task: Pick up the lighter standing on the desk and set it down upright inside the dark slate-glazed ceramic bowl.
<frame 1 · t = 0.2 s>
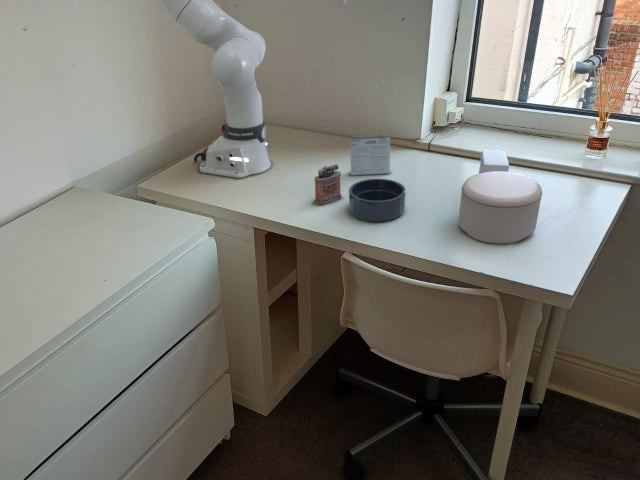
hand: (345, 1, 174), 48 cm above the table, tool pointing down, fingers open, 8 cm apart
bowl: (376, 210, 178), on the table
cosmetics box: (489, 194, 181), on the table
lighter: (328, 201, 185), on the table
ink box: (369, 174, 198), on the table
container: (495, 229, 165), on the table
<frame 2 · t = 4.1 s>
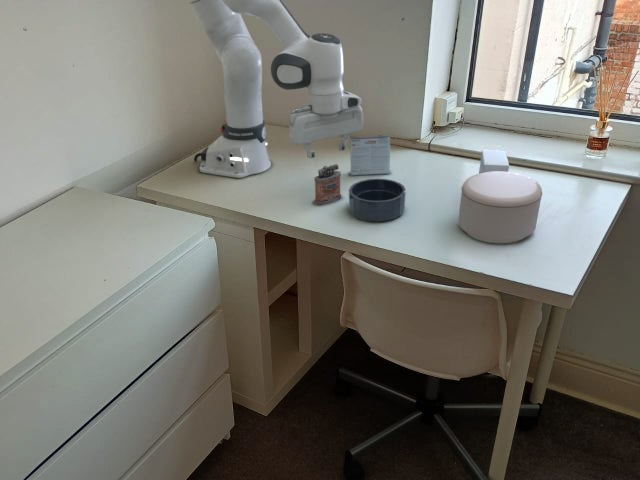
hand: (326, 153, 178), 14 cm above the table, tool pointing down, fingers open, 8 cm apart
nothing on the table moved.
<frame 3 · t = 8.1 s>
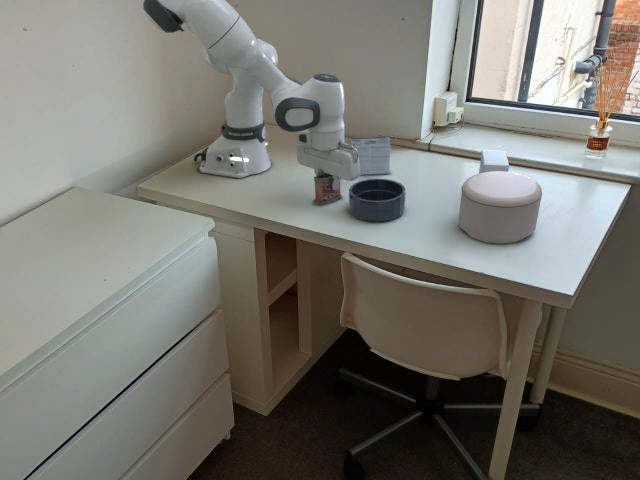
hand: (328, 186, 183), 4 cm above the table, tool pointing down, fingers closed on lighter, 3 cm apart
lighter: (328, 201, 185), on the table, touching gripper
everything else where it was.
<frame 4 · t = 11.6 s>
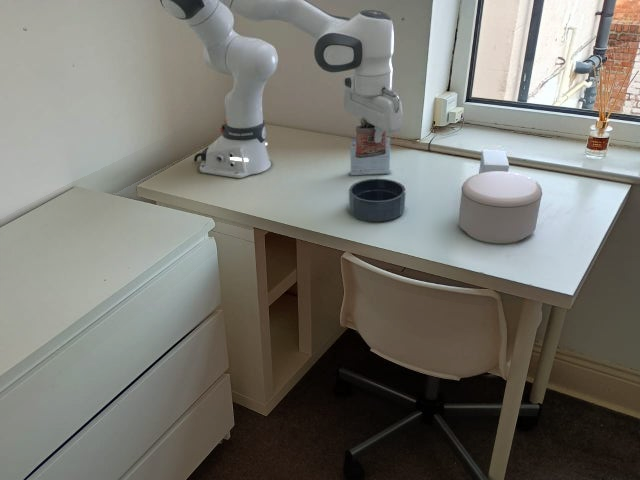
hand: (371, 139, 168), 20 cm above the table, tool pointing down, fingers closed on lighter, 3 cm apart
lighter: (370, 155, 170), point 15 cm above the table, touching gripper
everything else where it was.
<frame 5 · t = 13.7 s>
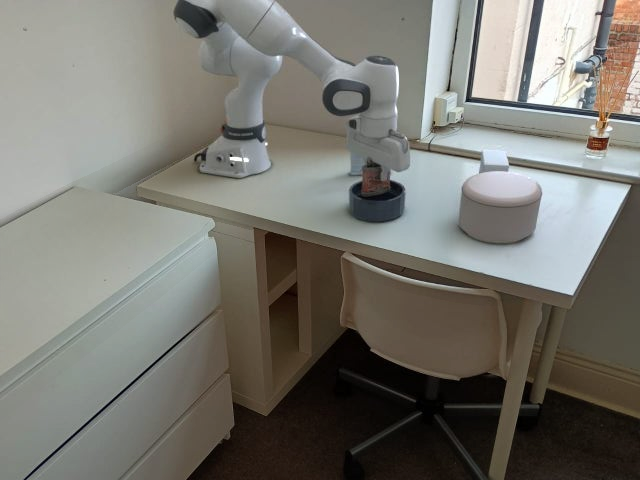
hand: (376, 177, 172), 10 cm above the table, tool pointing down, fingers closed on lighter, 3 cm apart
lighter: (375, 192, 175), point 5 cm above the table, touching gripper
everything else where it was.
when the fingers open (5 cm above the table, at t = 15.3 s): lighter stays where it is, resting on bowl.
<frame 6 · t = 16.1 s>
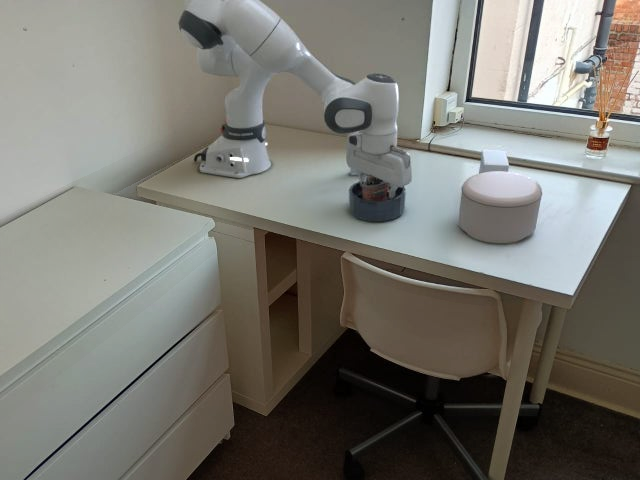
hand: (377, 191, 175), 5 cm above the table, tool pointing down, fingers open, 8 cm apart
lighter: (375, 209, 178), resting on bowl
everything else where it was.
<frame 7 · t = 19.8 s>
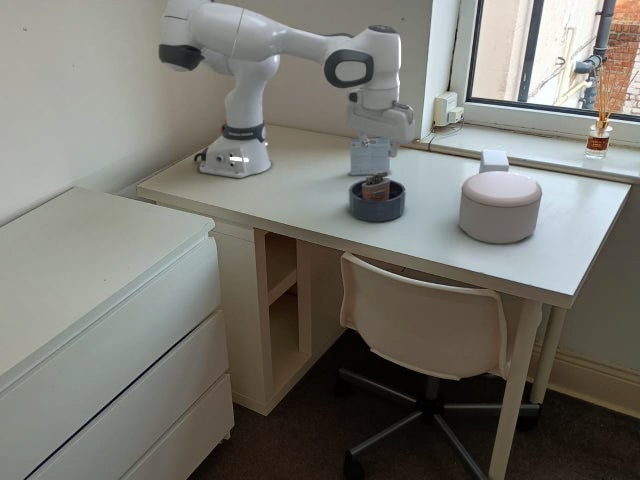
hand: (378, 151, 169), 16 cm above the table, tool pointing down, fingers open, 8 cm apart
nothing on the table moved.
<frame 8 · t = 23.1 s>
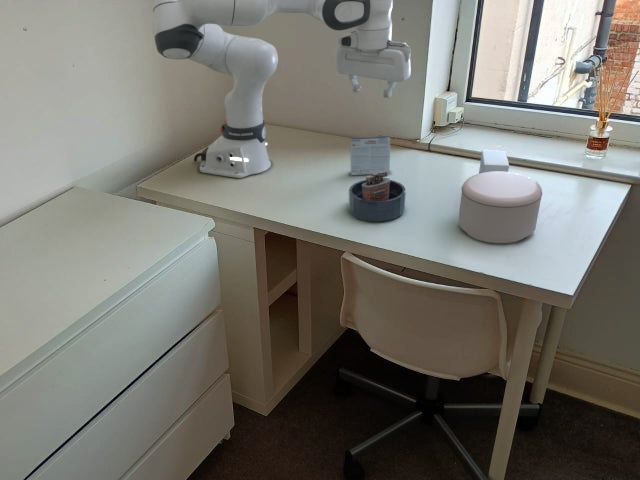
hand: (372, 94, 173), 27 cm above the table, tool pointing down, fingers open, 8 cm apart
nothing on the table moved.
at the end: lighter inside the target area in the bowl (0.3 cm from its centre), point 0.4 cm above the bowl's base; the gripper is holding nothing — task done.
